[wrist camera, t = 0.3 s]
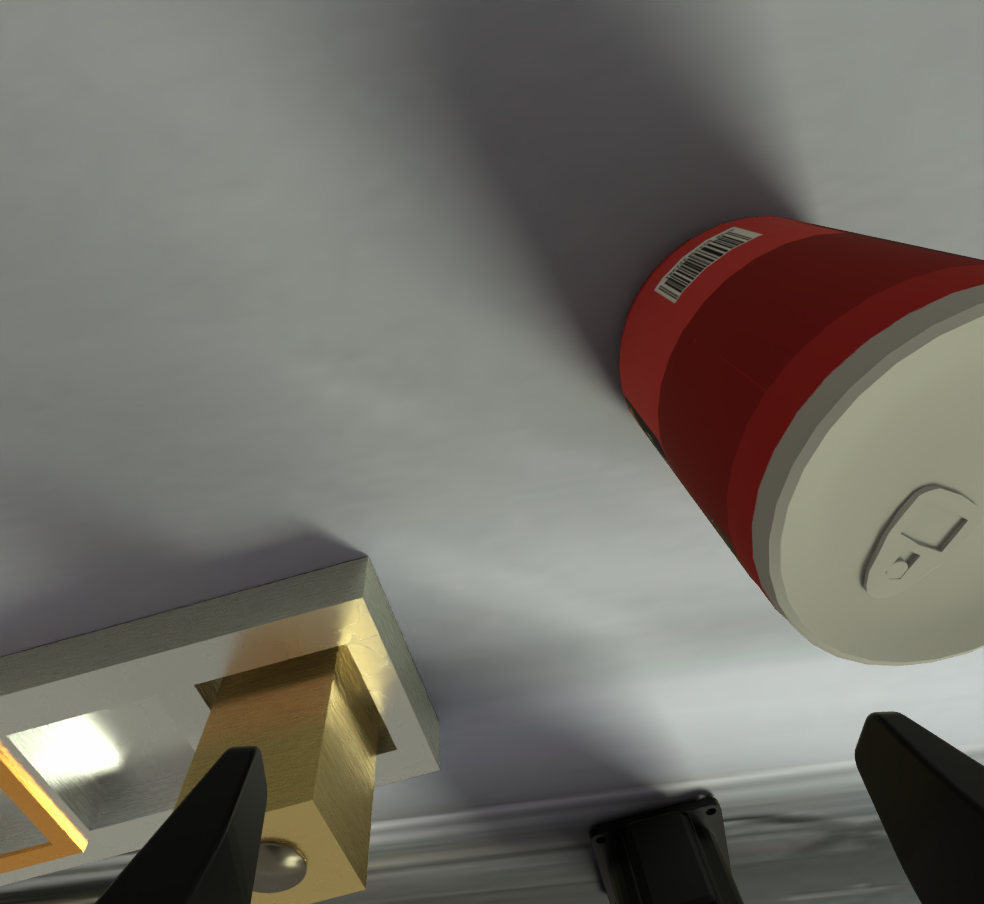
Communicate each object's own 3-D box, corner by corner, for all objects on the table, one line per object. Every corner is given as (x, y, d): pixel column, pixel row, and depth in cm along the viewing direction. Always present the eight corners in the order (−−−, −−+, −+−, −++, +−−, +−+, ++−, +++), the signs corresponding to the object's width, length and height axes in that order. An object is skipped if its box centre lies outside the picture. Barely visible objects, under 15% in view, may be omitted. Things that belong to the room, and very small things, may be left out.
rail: (438, 721, 28) (440, 774, 26) (-41, 849, 29) (-83, 911, 26) (368, 556, 24) (361, 601, 22) (-187, 708, 25) (-250, 767, 22)
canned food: (586, 431, 23) (709, 657, 13) (652, 188, 19) (886, 241, 10) (785, 459, 24) (1037, 684, 14) (878, 236, 21) (1293, 325, 11)
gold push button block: (379, 710, 26) (365, 893, 20) (276, 737, 26) (228, 928, 20) (341, 629, 24) (311, 804, 18) (229, 660, 25) (160, 844, 18)
